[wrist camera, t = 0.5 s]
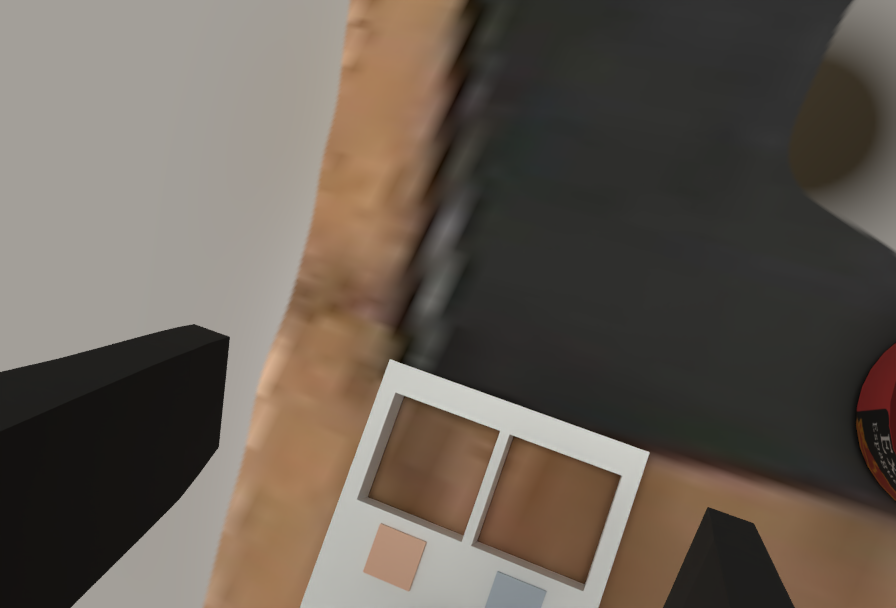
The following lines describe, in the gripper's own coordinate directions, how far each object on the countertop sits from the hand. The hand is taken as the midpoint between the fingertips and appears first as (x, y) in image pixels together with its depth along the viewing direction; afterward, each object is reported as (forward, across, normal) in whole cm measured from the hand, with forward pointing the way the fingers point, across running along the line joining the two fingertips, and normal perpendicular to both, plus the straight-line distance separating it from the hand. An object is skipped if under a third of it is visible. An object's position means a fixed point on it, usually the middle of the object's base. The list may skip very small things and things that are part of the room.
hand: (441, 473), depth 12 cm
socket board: (+17, +1, +17) cm, 24 cm away
